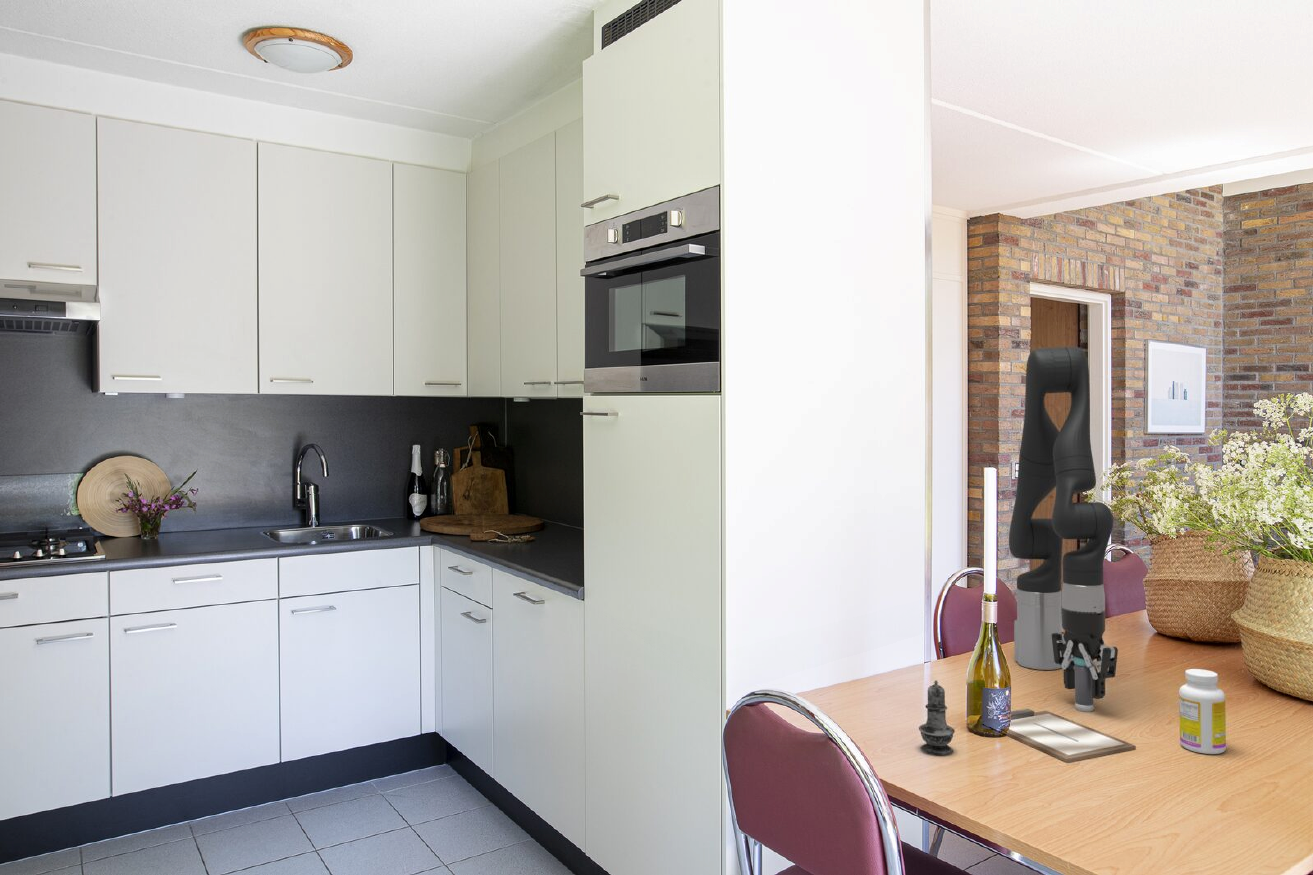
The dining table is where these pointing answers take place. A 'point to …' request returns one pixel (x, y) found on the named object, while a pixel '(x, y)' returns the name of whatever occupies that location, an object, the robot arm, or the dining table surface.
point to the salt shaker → (936, 724)
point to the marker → (1083, 686)
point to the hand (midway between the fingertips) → (1084, 693)
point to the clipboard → (1062, 736)
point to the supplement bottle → (1202, 713)
